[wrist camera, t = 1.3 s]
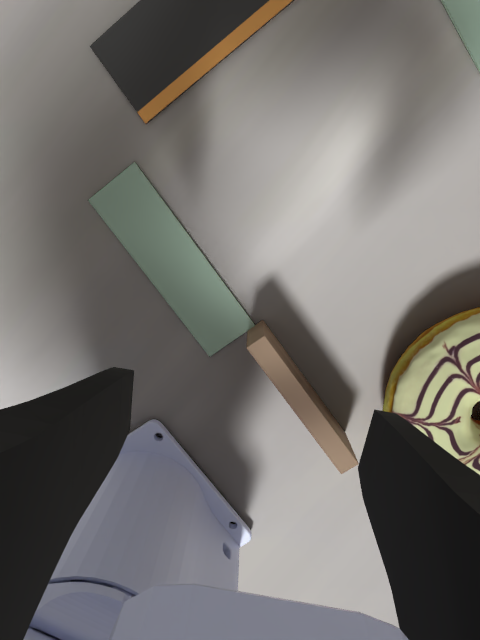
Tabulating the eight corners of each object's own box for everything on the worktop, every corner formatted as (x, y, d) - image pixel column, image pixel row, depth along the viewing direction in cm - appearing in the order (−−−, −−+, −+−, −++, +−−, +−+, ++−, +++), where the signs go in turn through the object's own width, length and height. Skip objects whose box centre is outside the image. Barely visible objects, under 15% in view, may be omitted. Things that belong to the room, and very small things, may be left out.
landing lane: (579, 102, 18) (580, 101, 18) (209, 356, 22) (209, 356, 22) (472, -115, 17) (473, -117, 17) (88, 200, 20) (87, 200, 20)
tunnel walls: (601, 277, 20) (659, 286, 17) (330, 441, 23) (341, 474, 20) (527, 137, 19) (578, 123, 16) (247, 330, 21) (246, 347, 19)
